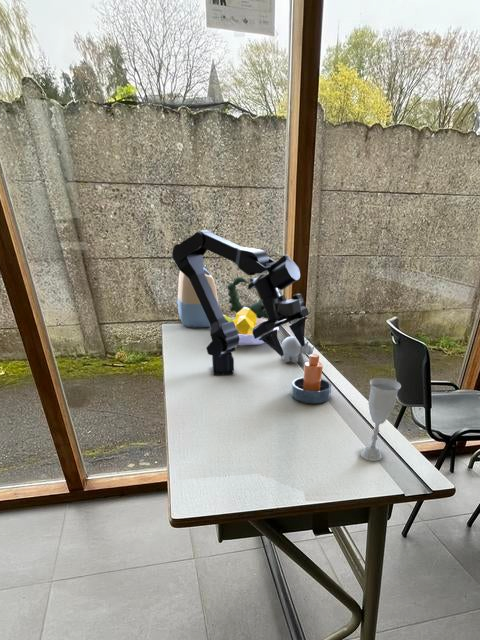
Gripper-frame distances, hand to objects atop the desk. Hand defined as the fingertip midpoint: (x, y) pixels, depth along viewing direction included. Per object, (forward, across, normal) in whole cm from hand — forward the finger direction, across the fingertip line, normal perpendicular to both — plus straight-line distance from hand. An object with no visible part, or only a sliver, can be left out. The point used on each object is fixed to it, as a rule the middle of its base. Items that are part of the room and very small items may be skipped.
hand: (293, 350), depth 128 cm
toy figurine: (-20, +48, +66) cm, 84 cm away
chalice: (+30, -16, -28) cm, 44 cm away
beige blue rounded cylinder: (-28, +24, +74) cm, 83 cm away
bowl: (+14, 0, +1) cm, 14 cm away
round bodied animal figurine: (+3, +21, +23) cm, 32 cm away
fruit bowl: (-13, +23, +49) cm, 56 cm away
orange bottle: (+14, 0, +1) cm, 14 cm away
